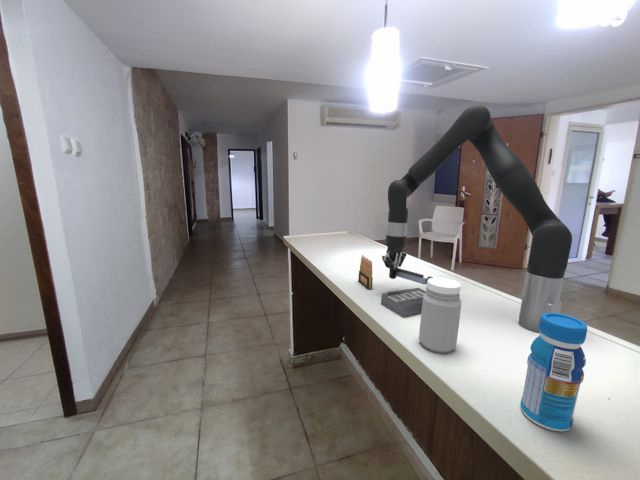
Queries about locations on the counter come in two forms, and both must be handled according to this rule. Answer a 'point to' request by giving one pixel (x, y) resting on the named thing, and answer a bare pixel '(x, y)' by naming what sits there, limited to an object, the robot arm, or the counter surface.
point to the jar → (440, 315)
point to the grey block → (404, 301)
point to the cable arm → (411, 276)
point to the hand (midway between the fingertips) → (392, 278)
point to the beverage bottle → (554, 372)
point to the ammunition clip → (365, 273)
